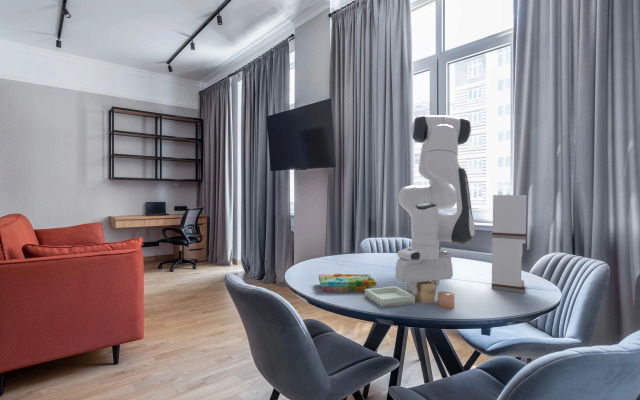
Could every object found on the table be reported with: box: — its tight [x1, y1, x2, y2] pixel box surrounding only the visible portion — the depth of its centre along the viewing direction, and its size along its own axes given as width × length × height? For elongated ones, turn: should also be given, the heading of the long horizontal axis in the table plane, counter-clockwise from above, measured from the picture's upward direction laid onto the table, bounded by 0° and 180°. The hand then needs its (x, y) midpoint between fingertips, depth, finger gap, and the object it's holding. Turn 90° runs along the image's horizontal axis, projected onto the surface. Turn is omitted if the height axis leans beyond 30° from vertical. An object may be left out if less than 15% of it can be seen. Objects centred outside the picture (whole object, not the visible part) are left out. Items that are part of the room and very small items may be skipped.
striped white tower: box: [491, 194, 527, 294], centre depth 131 cm, size 11×11×35 cm
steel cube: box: [406, 282, 413, 295], centre depth 122 cm, size 4×4×4 cm
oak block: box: [413, 281, 436, 304], centre depth 116 cm, size 5×5×6 cm
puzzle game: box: [318, 273, 377, 293], centre depth 130 cm, size 12×5×20 cm
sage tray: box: [364, 285, 416, 308], centre depth 116 cm, size 12×12×2 cm
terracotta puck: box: [437, 290, 456, 310], centre depth 110 cm, size 5×5×4 cm
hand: (424, 293), depth 115 cm, fingers closed on oak block, 5 cm apart
